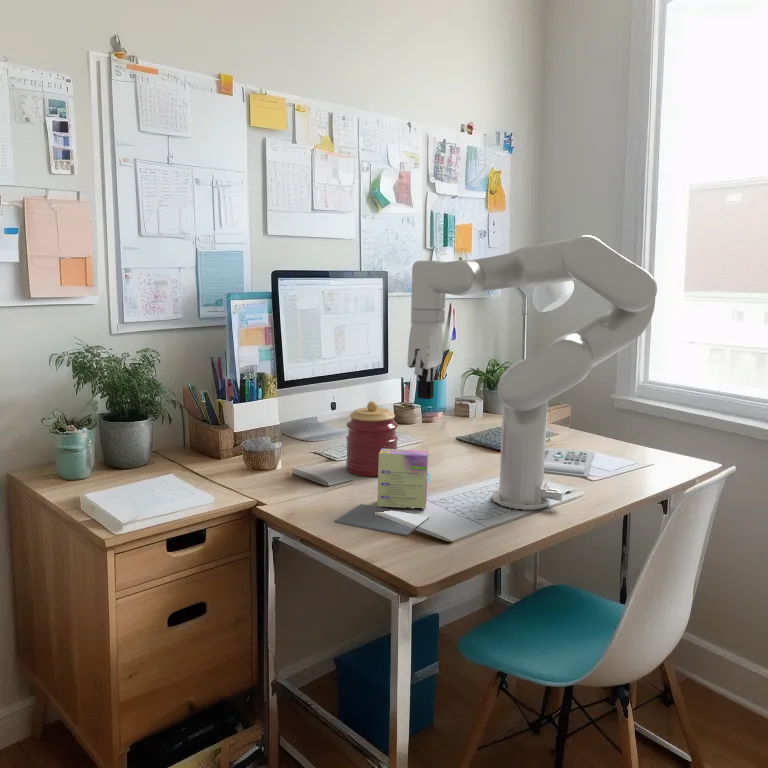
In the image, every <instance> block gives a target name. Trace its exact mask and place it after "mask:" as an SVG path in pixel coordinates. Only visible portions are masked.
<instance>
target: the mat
mask: <svg viewBox="0 0 768 768" xmlns="http://www.w3.org/2000/svg"><path fill="white" fill-rule="evenodd" d="M390 510H393V509H392V508H388V507H378V506H375V505H369V504H363V503H360V504H359V505H357V506H355V507H354V508H352V509H351V510H349V511H348V512H346V513H344V514H343V515H341V516H340V517H338V518H336V519H335V520H334V523H338V524H343V525H349V526H354V527H359V528H364V529H367V530H368V529H369V530H375V531H380V532H385V533H390V534H394V535H399V536H406V537H408V536H409V535H410V534H411V533H413V532H414V531H415V530H414V528H410V527H408V526H405V525H402V524H398V523H395V522H393V521H390V520H387V519H384V518H381V517H379V516H377V515H375V512H384V511H390Z"/></svg>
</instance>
